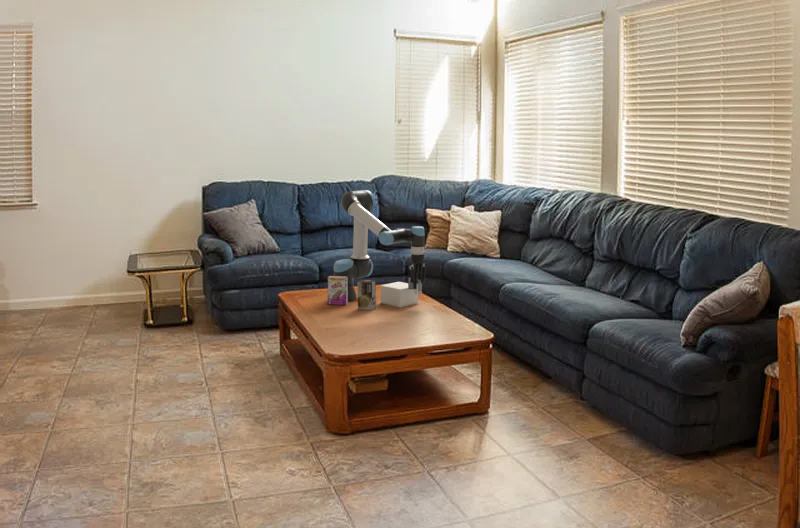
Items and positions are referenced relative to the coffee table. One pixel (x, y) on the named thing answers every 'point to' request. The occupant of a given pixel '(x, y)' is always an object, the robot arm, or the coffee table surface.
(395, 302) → the carton
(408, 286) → the flap
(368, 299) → the coffee box
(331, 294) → the candy bar box
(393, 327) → the coffee table surface
